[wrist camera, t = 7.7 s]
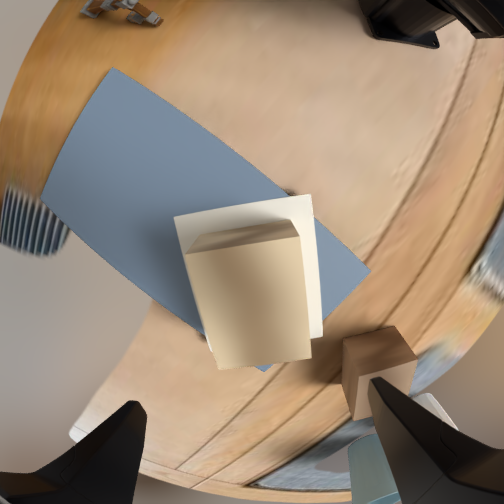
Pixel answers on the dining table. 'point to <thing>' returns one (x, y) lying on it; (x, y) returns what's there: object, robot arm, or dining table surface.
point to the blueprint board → (177, 200)
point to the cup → (371, 473)
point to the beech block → (252, 294)
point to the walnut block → (375, 366)
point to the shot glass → (433, 407)
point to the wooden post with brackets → (98, 3)
